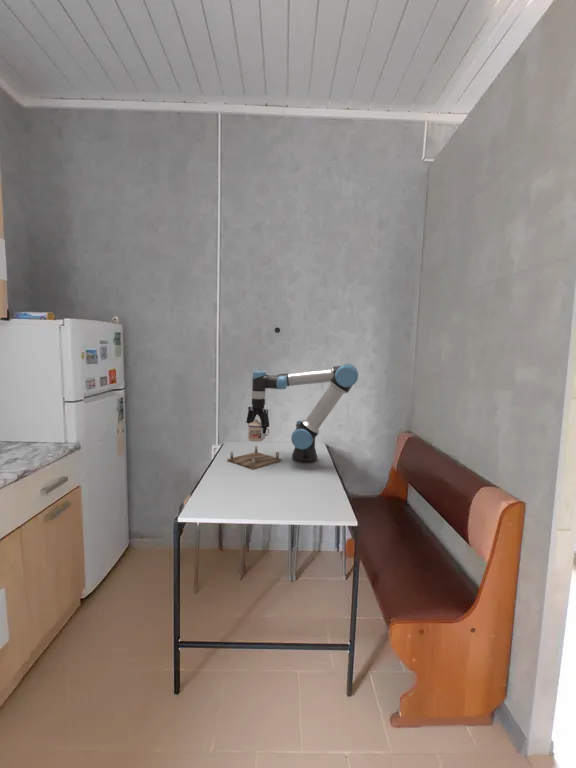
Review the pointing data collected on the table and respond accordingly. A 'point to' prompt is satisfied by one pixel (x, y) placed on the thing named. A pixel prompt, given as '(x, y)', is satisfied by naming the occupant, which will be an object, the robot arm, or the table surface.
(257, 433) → the teacup with lid
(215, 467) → the table surface
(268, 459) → the stub plate
